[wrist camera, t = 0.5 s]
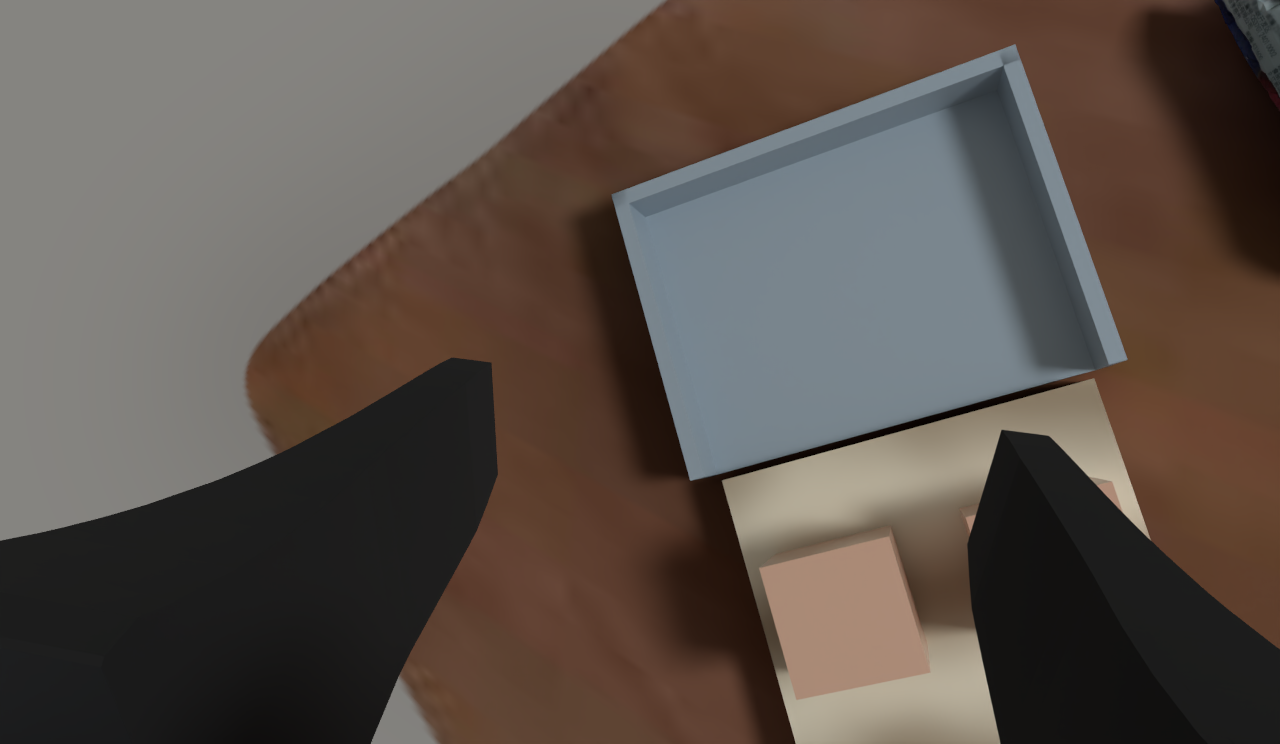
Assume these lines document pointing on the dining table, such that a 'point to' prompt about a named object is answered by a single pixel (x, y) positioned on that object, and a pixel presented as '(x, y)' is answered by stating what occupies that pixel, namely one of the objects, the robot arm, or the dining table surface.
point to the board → (912, 552)
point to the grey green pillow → (1257, 38)
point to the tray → (865, 270)
